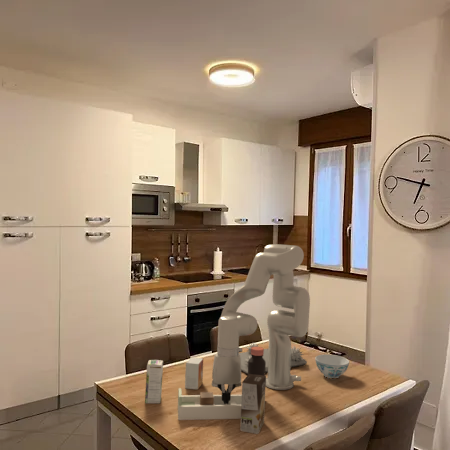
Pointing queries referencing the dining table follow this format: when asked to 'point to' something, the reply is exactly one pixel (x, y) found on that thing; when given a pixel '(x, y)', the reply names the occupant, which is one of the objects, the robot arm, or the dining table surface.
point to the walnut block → (206, 398)
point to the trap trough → (208, 407)
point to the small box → (194, 373)
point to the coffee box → (253, 403)
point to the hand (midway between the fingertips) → (225, 402)
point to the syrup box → (154, 381)
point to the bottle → (256, 362)
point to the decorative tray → (245, 356)
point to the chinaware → (331, 365)
